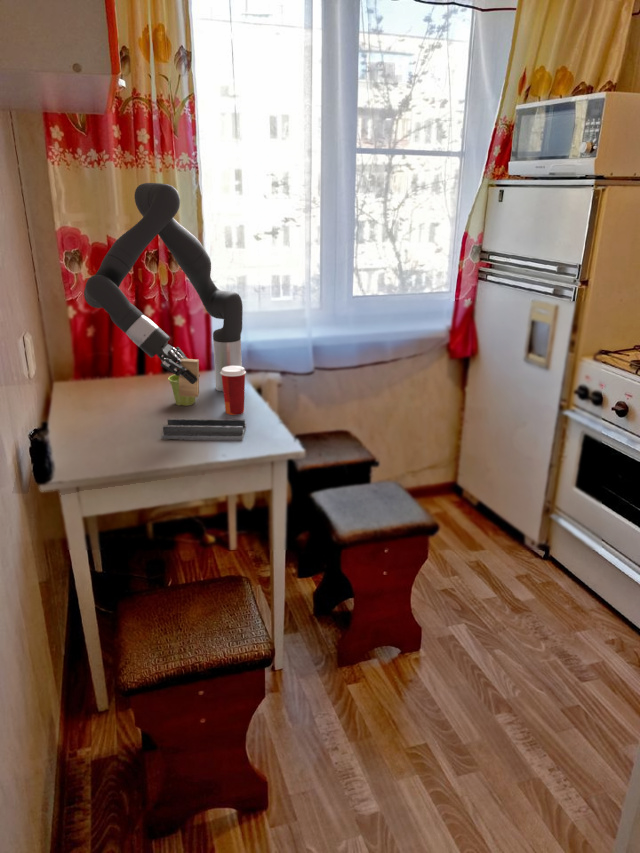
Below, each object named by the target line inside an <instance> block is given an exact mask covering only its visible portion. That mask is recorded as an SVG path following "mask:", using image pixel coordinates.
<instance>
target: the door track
mask: <svg viewBox="0 0 640 853" xmlns="http://www.w3.org/2000/svg"><path fill="white" fill-rule="evenodd" d="M166 420H167V425H164V424H163V426H162V435H161V440H162V439H179V440H178V441H243V439H244V435H245V432H246V429H247V423H246V418H240V419H238V418H167V419H166ZM183 439H184V440H183Z"/></svg>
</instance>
